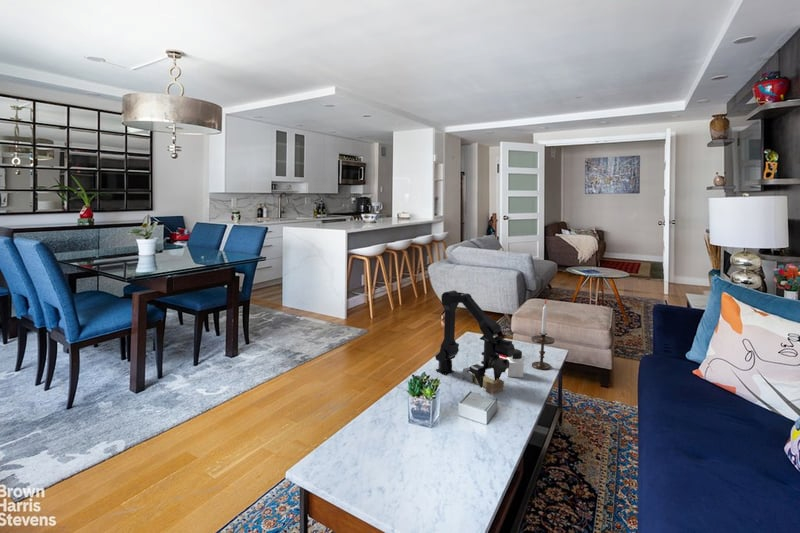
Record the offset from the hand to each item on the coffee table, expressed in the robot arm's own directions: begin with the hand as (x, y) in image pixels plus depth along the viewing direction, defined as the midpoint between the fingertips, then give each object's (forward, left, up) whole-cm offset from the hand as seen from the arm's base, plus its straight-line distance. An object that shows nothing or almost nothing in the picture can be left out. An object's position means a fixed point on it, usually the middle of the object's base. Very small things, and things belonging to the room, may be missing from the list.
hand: (488, 385), depth 193 cm
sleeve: (-10, 0, -1) cm, 11 cm away
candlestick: (-4, +40, -1) cm, 40 cm away
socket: (+4, 0, -1) cm, 4 cm away
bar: (-2, 0, -1) cm, 3 cm away
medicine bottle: (-4, +21, -2) cm, 22 cm away
